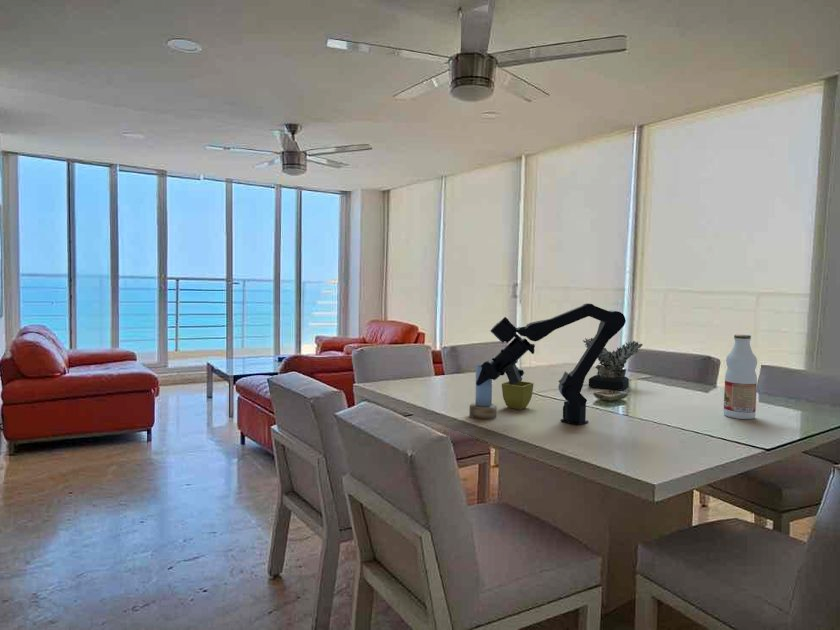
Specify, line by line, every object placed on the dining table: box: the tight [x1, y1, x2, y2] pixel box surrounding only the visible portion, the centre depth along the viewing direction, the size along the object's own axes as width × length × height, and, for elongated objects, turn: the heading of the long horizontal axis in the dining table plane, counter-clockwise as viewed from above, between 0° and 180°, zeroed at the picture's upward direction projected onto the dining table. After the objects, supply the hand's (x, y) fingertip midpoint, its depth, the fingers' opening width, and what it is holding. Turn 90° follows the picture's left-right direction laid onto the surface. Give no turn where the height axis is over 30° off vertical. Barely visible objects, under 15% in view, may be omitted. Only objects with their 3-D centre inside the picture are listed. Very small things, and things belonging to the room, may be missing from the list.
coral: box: [582, 337, 643, 391], centre depth 237 cm, size 25×18×21 cm
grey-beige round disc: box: [469, 402, 498, 421], centre depth 180 cm, size 9×9×4 cm
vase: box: [474, 363, 493, 406], centre depth 179 cm, size 5×5×13 cm
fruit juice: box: [723, 334, 758, 420], centre depth 183 cm, size 9×9×28 cm
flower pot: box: [501, 380, 534, 410], centre depth 193 cm, size 9×9×9 cm
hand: (479, 383), depth 180 cm, fingers open, 6 cm apart
